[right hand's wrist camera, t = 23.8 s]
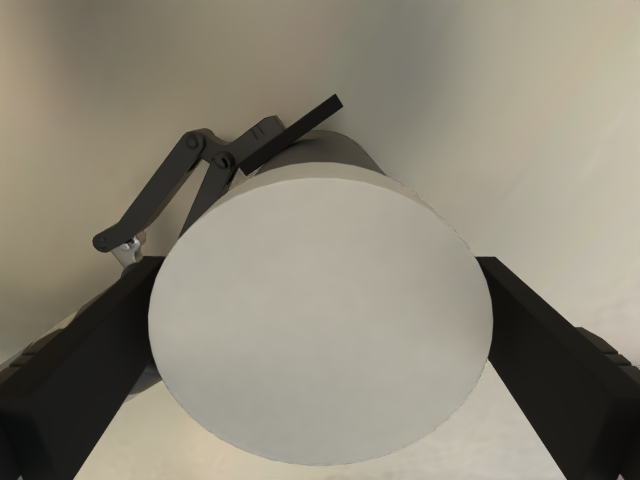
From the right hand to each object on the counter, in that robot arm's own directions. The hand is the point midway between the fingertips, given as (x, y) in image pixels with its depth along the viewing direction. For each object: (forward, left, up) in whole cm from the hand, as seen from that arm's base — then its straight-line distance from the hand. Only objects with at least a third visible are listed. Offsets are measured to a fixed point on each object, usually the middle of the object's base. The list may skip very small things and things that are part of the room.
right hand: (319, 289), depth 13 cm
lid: (0, 0, +3) cm, 3 cm away
